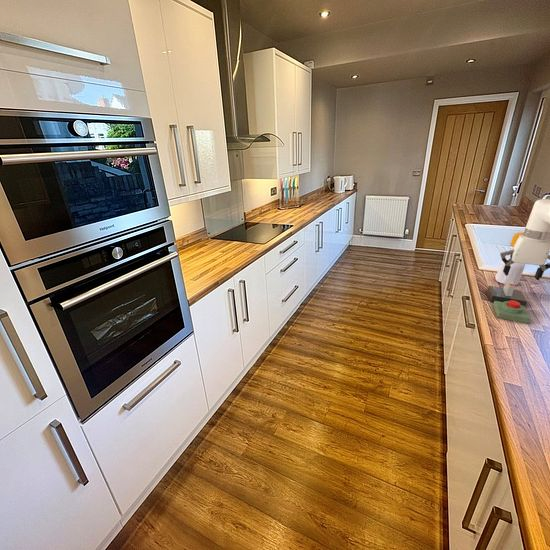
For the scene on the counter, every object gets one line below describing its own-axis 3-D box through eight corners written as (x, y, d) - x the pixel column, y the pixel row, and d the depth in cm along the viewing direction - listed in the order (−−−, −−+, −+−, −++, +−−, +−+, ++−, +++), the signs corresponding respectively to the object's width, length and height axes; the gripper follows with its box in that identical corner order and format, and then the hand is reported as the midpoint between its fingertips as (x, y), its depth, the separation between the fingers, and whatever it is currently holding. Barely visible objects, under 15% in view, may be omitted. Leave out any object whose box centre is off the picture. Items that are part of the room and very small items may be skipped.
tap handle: (502, 289, 127) (506, 278, 125) (508, 290, 127) (512, 279, 124) (505, 295, 123) (509, 284, 120) (511, 296, 122) (515, 285, 119)
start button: (517, 305, 115) (519, 301, 114) (519, 309, 112) (521, 305, 111) (506, 303, 116) (508, 299, 115) (508, 307, 113) (510, 303, 112)
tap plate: (518, 296, 127) (521, 290, 126) (524, 307, 119) (527, 301, 118) (486, 291, 132) (488, 285, 131) (490, 301, 124) (492, 295, 123)
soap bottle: (520, 287, 135) (540, 236, 124) (497, 284, 138) (515, 234, 127) (514, 278, 143) (532, 230, 132) (492, 276, 146) (508, 229, 135)
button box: (522, 310, 118) (525, 302, 116) (529, 323, 110) (533, 314, 108) (492, 305, 122) (495, 296, 120) (497, 317, 114) (500, 308, 112)
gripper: (564, 234, 105) (546, 276, 112) (506, 228, 112) (492, 269, 120) (571, 240, 99) (552, 284, 106) (509, 234, 106) (495, 276, 114)
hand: (520, 276), depth 113 cm, fingers open, 9 cm apart
